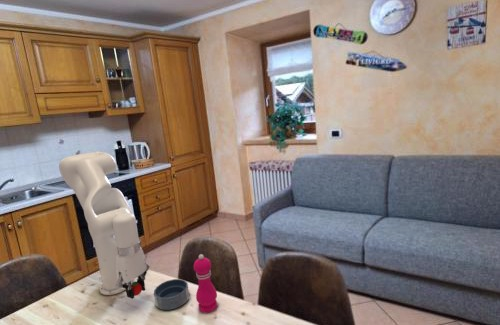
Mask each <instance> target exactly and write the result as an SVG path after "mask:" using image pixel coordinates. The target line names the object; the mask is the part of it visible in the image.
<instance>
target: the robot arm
mask: <svg viewBox="0 0 500 325" xmlns="http://www.w3.org/2000/svg"><path fill="white" fill-rule="evenodd" d="M58 170H59V173H60V175H61V177H62V179H63V181H64V182H65V184H67V186H69V188H70V189H71V190H72V191H73V192H74V194H75V195H76V198H77V200H78V202H79V204H80V206H81V207H82V208H81V209H82V210H83V214H84V218H85V221H86V223H87V227H88V228H87V229H88V232H89V234H90V237H91V240H92V242H93V245H94V250H95V254H96V259H97V263H98V267H99V272H100V276H99V277H98V280H99V281H101V285H100V286H99V290H98V291H99V293H100V294H101V295H103V296H114V295H116V294H120V293H123V292H124V291H125V294H126V297H127V298H129V299H132V300H133V299H135V296H134V291H133V288H131V285H132V283H133V280H134V279H135V280H136V282H138V283H139V284H141V286H142V291H143V292H145V291H146V285H145V284H146V283H145V280H146V277H147V276H146V275H147V273H148V271H149V269H150V265H149V264H148V263H147V260H146V257H145V252H144V250H143V248H142V247H141V245H140V243H142V239H141V238H139V232H138V225H137V219H136V216H135V214H134V212H133V210H132V208H131V206H130V204H129V203H128V201H127V199H126V197H125V196H124V194H123V192H122V191H121V190H120V189H119V188H116V187H112V185H111V182H110V181H109V179H108V177H107V175H110V174H114V173H116V171H117V162H116V160H115V158H114V157H113V155H111V154H109V152H104V151H97V150H96V151H92V152H86V153H80V154H74V155H73V154H72V155H69V156H66V157H64V158H63V159H61V160H60V161H59V163H58ZM142 291H141V292H142Z"/></svg>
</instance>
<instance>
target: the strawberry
mask: <svg viewBox="0 0 500 325" xmlns="http://www.w3.org/2000/svg"><path fill="white" fill-rule="evenodd" d="M131 288H133V291H134V297H136V296H139V295H140V294H141V293H142V286H141V284H139V283H138V282H137V281H132V284H131Z"/></svg>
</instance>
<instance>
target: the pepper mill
mask: <svg viewBox="0 0 500 325" xmlns="http://www.w3.org/2000/svg"><path fill="white" fill-rule="evenodd" d="M211 268H212V262H211V260H210V259H209V258H208V257H205V256H204V254H202V253H200V254H199V255H198V258H197V259H195V261H194V263H193V271H194V272H195V275H196V278H197V281H198V286H197V290H196V293H195V299H196V302H197V303H198V309H199V311H200V312H202V313H205V314H206V313H212V312H213V311H215V310H216V309H217V308H218V303H217V298H218V293H217V290H216V287H215V286H214V284H213V282H212V281H211V280H212V279H211V276H212V271H211Z"/></svg>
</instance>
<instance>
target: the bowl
mask: <svg viewBox="0 0 500 325" xmlns="http://www.w3.org/2000/svg"><path fill="white" fill-rule="evenodd" d="M153 297H154V303H155V304H154V305H155V306H156V307H157V308H158V309H160V310H163V311H167V310H168V311H170V310H175V309H177V308H179V307H181V306H183V305H184V304H186V303H187V302H188V301H189V298H190V290H189V283H188V282H187V281H186V280H185V279H181V278H175V279H174V278H173V279H169V280H166V281H163V282H162V283H160V284H158V285H157V286H156V287H155V288H154V290H153Z"/></svg>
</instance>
